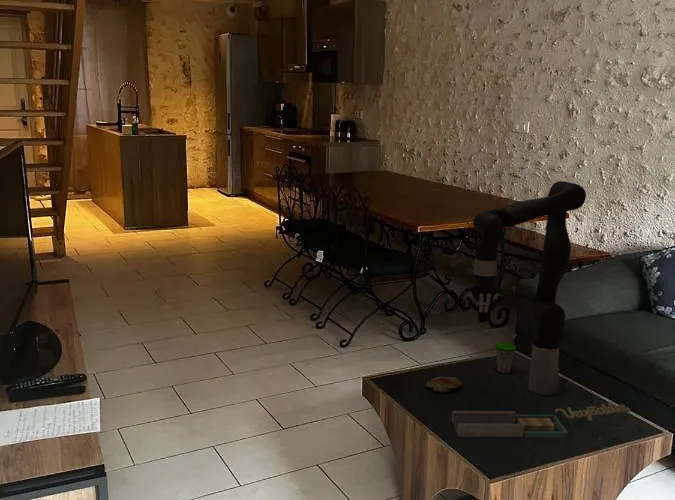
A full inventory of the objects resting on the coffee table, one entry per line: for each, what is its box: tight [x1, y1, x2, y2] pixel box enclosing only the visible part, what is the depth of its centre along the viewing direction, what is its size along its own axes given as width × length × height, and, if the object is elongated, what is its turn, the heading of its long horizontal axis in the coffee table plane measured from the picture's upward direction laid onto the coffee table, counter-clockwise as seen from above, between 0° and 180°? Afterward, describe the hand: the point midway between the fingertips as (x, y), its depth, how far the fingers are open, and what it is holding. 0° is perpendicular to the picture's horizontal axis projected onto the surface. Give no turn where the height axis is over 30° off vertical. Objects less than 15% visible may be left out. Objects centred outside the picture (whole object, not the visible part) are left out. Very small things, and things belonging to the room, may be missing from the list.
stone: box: [423, 376, 463, 394], centre depth 237 cm, size 13×10×3 cm
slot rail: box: [451, 410, 524, 438], centre depth 205 cm, size 20×11×4 cm, turn 92°
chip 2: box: [534, 418, 556, 432], centre depth 206 cm, size 5×5×3 cm
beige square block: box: [516, 418, 538, 434], centre depth 206 cm, size 5×5×3 cm
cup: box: [494, 333, 518, 374], centre depth 252 cm, size 8×8×15 cm
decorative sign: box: [554, 402, 631, 423], centre depth 220 cm, size 26×1×10 cm
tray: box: [515, 414, 569, 441], centre depth 206 cm, size 13×12×3 cm
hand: (481, 321), depth 221 cm, fingers closed
